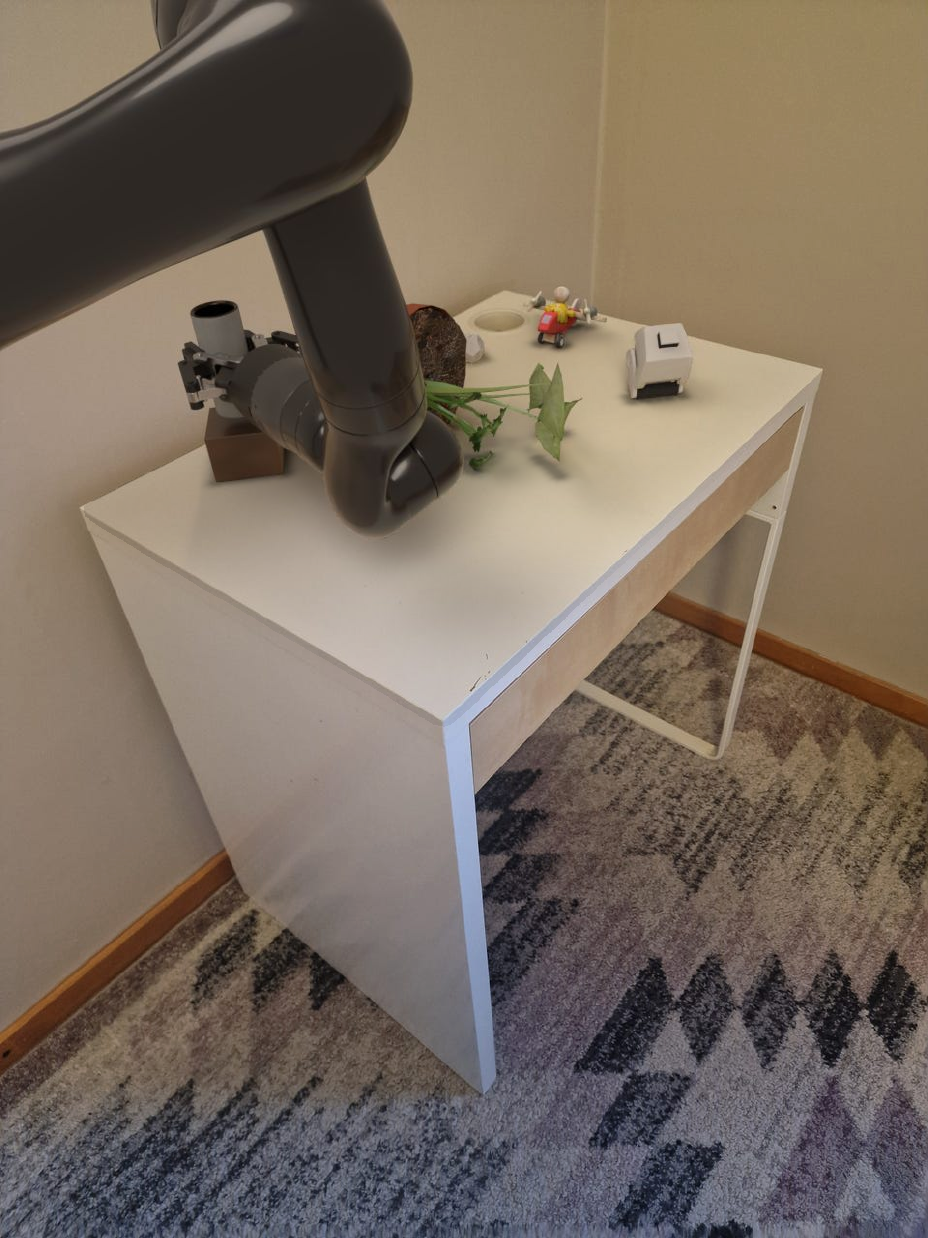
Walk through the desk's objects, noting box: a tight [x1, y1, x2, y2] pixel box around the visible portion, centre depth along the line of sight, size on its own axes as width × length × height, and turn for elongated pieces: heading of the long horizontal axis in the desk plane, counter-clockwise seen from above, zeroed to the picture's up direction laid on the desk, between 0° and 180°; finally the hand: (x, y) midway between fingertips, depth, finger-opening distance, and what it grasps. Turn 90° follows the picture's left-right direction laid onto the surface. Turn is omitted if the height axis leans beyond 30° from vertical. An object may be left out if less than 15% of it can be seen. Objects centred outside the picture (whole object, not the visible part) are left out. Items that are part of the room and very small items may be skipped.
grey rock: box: [464, 332, 486, 364], centre depth 107 cm, size 4×4×3 cm
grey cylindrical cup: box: [189, 299, 249, 418], centre depth 84 cm, size 4×4×10 cm
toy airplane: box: [522, 285, 608, 348], centre depth 110 cm, size 9×9×6 cm
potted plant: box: [406, 303, 583, 470], centre depth 87 cm, size 16×15×35 cm
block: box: [203, 406, 285, 483], centre depth 90 cm, size 7×7×5 cm
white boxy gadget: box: [625, 322, 694, 400], centre depth 96 cm, size 6×7×10 cm
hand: (213, 344), depth 85 cm, fingers closed on grey cylindrical cup, 4 cm apart
